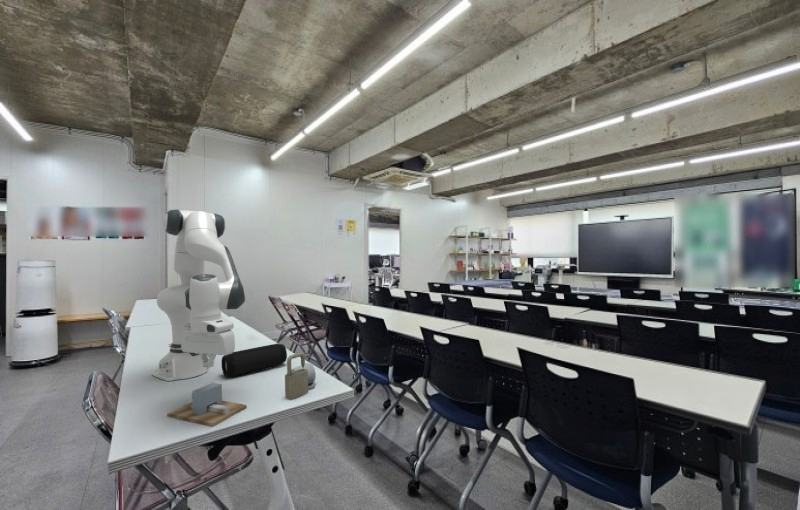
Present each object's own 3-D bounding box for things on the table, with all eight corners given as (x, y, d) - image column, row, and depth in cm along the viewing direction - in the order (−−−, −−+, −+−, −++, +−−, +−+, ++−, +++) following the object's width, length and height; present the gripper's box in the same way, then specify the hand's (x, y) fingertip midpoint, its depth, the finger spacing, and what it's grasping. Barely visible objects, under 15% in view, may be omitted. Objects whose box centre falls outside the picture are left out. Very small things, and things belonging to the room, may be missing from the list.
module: (192, 413, 110) (192, 391, 110) (213, 403, 117) (212, 382, 117) (201, 415, 108) (201, 392, 108) (222, 404, 115) (221, 384, 115)
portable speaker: (279, 361, 165) (278, 340, 165) (288, 366, 157) (287, 344, 157) (221, 375, 148) (220, 351, 148) (227, 381, 140) (227, 356, 140)
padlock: (309, 392, 127) (308, 351, 127) (290, 400, 120) (289, 357, 120) (302, 390, 129) (301, 350, 129) (283, 397, 122) (282, 355, 122)
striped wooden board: (167, 416, 110) (166, 408, 110) (203, 399, 122) (203, 392, 122) (212, 426, 103) (212, 418, 103) (246, 408, 115) (246, 400, 115)
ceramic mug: (287, 385, 134) (287, 365, 134) (306, 379, 140) (306, 360, 140) (301, 393, 127) (300, 372, 126) (320, 386, 132) (320, 367, 132)
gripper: (174, 325, 113) (176, 367, 113) (221, 327, 106) (223, 372, 106) (192, 321, 119) (194, 361, 119) (237, 323, 112) (239, 365, 112)
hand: (208, 366), depth 112 cm, fingers closed
